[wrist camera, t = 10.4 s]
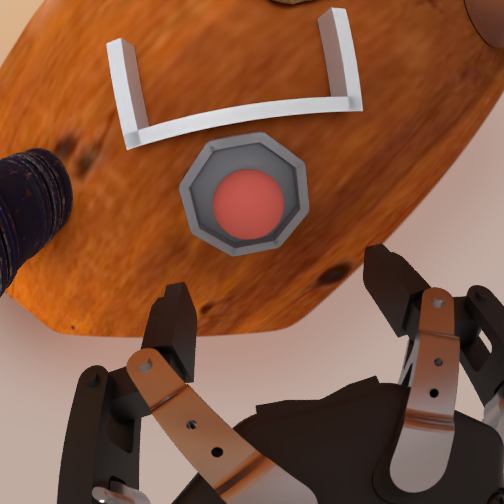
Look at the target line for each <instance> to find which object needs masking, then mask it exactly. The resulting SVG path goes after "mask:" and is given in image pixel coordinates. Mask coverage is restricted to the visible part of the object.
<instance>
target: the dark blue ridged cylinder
mask: <svg viewBox="0 0 504 504" xmlns="http://www.w3.org/2000/svg"><path fill="white" fill-rule="evenodd" d="M72 200H73V196H72V187H71V182H70V179H69V175H68V173H67V171H66V169H65V167H64V165H63V164H62V162H61V161H60V160H59V159H58V158H57V157H56V156H55V155H54V154H53V153H51V152H49V151H48V150H45V149H41V148H34V149H30V150H27V151H25V152H22V153H16V154H13V155H11V156H8V157H6V158H3V159H1V160H0V297H1V296H2V294H3V293H4V291H5V289H6V288H8V287H9V286H10V285H11V283H12V281H13V279H14V278H15V276H16V274H17V270H18V269H19V268H20V267H21V266H22V265H23V264H24V263H25V261H26V260H27V259H30V258H31V257H33V256H34V255H35V254H36V253H38V252H39V251H40V250H41V249H42V248H43V247H44V246H45V245H46V244H47V243H48V242H49V241H50V240H51V239H52V238H53V237H54V235H55V234H56V233H57V232H58V231H59V230H60V229H61V228H62V227H63V226H64V225H65V223H66V222H67V220H68V218H69V216H70V213H71V208H72Z"/></svg>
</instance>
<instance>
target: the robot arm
mask: <svg viewBox="0 0 504 504" xmlns="http://www.w3.org/2000/svg"><path fill="white" fill-rule="evenodd" d="M465 4H466V8H467V11H468V14H469V16H470V18H471V21H472V22H473V24H474V26H475V28H476V29H477V31H478V33H479V34H480V35H481V37H482V38H483V39H484V40H485V41H486V42H487V43H488V44H489V45H490V46H492V47H494V48H504V0H465ZM363 281H364V285H365V287H366V289H367V290H368V292H369V293H370V295H371V296H372V298H373V299H374V301H375V302H376V304H377V305H378V307H379V308H380V310H381V311H382V313H383V315H384V316H385V318H386V319H387V321H388V322H389V324H390V326H391V327H392V329H393V330H394V332H395V334H396V335H397V337H401V336H404V335H408V336H409V340H408V343H407V348H406V353H405V358H404V362H403V367H402V371H401V375H400V379H399V382H398V384H394V383H379V381H378V379H377V377H376V376H373V377H370V378H367V379H364V380H361V381H358V382H355V383H352V384H349V385H347V386H346V387H343V388H342V389H340V390H338V391H336V392H334V393H332V394H330V395H329V396H327V397H325V398H323V399H320V400H284V401H279V402H274V403H268V404H262V405H257V406H256V412H257V414H254V415H252V416H250V417H248V418H246V419H244V420H243V421H241V422H240V423H238V424H237V425H236V426H235V427H233V428H231V427H230V426H229V425H228V424H227V423H226V422H225V421H224V420H223V419H222V418H221V417H220V416H219V415H218V414H217V413H216V412H214V411H213V409H212V408H211V407H210V406H208V405H207V403H206V402H205V401H204V400H203V399H202V398H201V397H200V396H199V395H198V394H197V393H196V392H195V391H194V390H193V389H192V388H191V387H190V386H189V385H188V384H187V385H186V384H185V383H190V382H194V365H195V348H196V332H197V315H196V310H195V307H194V305H193V302H192V300H191V297H190V294H189V292H188V289H187V286H186V284H185V283H184V282H181V283H176V284H170V285H167V287H166V291H165V295H164V297H162V298H158V299H157V300H156V302H155V303H154V304H153V306H152V307H151V311H150V315H149V316H150V317H149V318H148V322H147V323H148V324H147V326H146V330H145V334H144V337H143V342H142V346H141V350H139V351H137V352H135V353H134V354H133V355H132V356H131V357H130V358H129V360H128V362H127V366H126V367H123V368H120V369H117V370H114V371H111V372H109V373H108V371H107V370H106V369H105V368H104V367H103V366H99V365H95V366H91V367H89V368H87V369H86V370H85V371H84V372H83V373H82V374H81V376H80V378H79V381H78V384H77V388H76V392H75V396H74V400H73V404H72V408H71V412H70V417H69V421H68V425H67V431H66V436H65V441H64V447H63V453H62V460H61V467H60V475H59V485H58V496H57V497H58V498H57V504H150V501H149V499H148V498H147V497H146V495H145V494H144V493H142V492H141V491H139V451H140V450H139V449H140V431H141V430H140V429H141V417H144V416H148V415H150V414H153V416H154V417H155V419H156V420H157V422H158V423H159V424H160V426H161V427H162V429H163V430H164V431H165V433H166V434H167V435H168V436H169V438H170V439H171V440H172V442H174V444H175V445H176V447H177V448H178V449H179V450H180V452H181V453H182V454H183V455H184V456H185V458H186V459H187V460H188V461H189V462H190V463H191V464H192V466H193V467H194V468H195V469H196V470H197V471H198V473H197V474H196V475H195V476H194V478H193V479H192V480H191V481H190V482H189V484H188V485H187V486H186V487H185V489H184V490H183V491H182V492H181V493H180V494H179V496H178V497H177V498H176V499H175V500H174V501H173V502H172V504H504V473H503V470H504V306H503V305H502V304H501V302H500V301H499V300H498V299H497V298H496V297H495V296H494V294H493V293H492V292H491V291H490V290H489V289H487V288H485V287H483V286H480V285H474V286H472V287H470V288H469V290H468V292H467V295H466V296H464V297H452V296H451V294H450V293H449V292H447V291H446V290H444V289H441V288H436V287H433V288H431V287H430V286H429V284H428V283H427V282H426V281H425V280H424V279H423V278H422V277H421V276H420V275H419V274H418V272H417V271H415V270H414V268H413V267H411V265H409V263H408V262H407V261H406V260H405V259H404V258H403V257H402V256H400V255H398V254H396V253H394V252H392V253H391V252H390V251H389V250H388V249H387V248H386V247H385V246H384V245H383V244H377V245H373V246H368V247H366V248H365V255H364V270H363ZM481 330H482V331H483V332H484V333H485V335H486V336H487V338H488V339H489V340H490V342H491V345H492V352H491V353H490V352H489V350H488V349H487V347H486V346H485V344H484V343H483V341H482V340H481V338H480V337H479V334H480V332H481ZM459 361H460V363H461V364H462V366H463V368H464V370H465V371H466V373H467V375H468V377H469V379H470V381H471V382H472V384H473V386H474V388H475V390H476V392H477V394H478V396H479V398H480V400H481V402H482V404H483V406H484V408H485V409H484V418H483V420H482V422H481V421H478V420H476V419H474V418H471V417H469V416H467V415H465V414H463V413H461V412H458V411H456V410H454V409H455V402H456V394H457V385H458V373H459Z"/></svg>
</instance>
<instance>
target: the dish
mask: <svg viewBox="0 0 504 504" xmlns="http://www.w3.org/2000/svg"><path fill="white" fill-rule="evenodd" d="M242 169H255V170H259V171H262V172H264V173H266V174H268V175H269V176H270V177H272V178H273V179H274V180H275V181H276V182H277V184H278V185H279V187H280V189H281V191H282V194H283V198H284V210H283V214H282V217H281V219H280V221H279V223H278V224H277V226H276V227H275V228H274V229H273V230H272V231H271V232H270V233H268V234H267V235H265V236H263V237H260V238H257V239H240V238H237V237H234V236H232V235H230V234H229V233H227V232H226V231H225V230H224V229H223V228H222V227H221V226H220V225H219V223H218V222H217V220H216V218H215V215H214V211H213V197H214V194H215V191H216V189H217V187H218V185H219V184H220V182H221V181H222V180H223V179H224V178H225V177H226V176H228V175H229V174H231V173H233V172H235V171H238V170H242ZM179 190H180V194H181V198H182V202H183V206H184V209H185V213H186V217H187V220H188V224H189V228H190V231H191V233H192V234H193V235H195V236H196V237H198V238H200V239H202V240H203V241H205V242H207V243H209V244H211V245H212V246H214V247H216V248H218V249H219V250H221V251H223V252H225V253H227V254H228V255H230V256H233V257H234V256H239V255H245V254H250V253H255V252H260V251H265V250H271V249H276V248H279V247H280V246H281V245H282V244H283V243H284V242H285V240H286V239H287V238H288V237H289V236H290V234H291V233H292V232H293V231H294V229H295V228H296V227H297V226H298V225H299V223H300V222H301V221H302V220H303V218H304V217H305V216H306V215H307V214H308V212H309V200H308V188H307V178H306V168H305V164H304V162H303V161H302V160H300V159H299V158H298V157H296V156H295V155H294V154H293V153H291V152H290V151H289V150H287V149H286V148H285V147H283V146H282V145H281V144H279V143H278V142H276V141H275V140H274V139H272V138H271V137H270V136H268V135H267V134H265V133H264V132H262V131H252V132H246V133H240V134H235V135H229V136H224V137H219V138H214V139H210V140H208V141H207V143H206V144H205V146H204V147H203V149H202V150H201V152H200V153H199V155H198V156H197V158H196V159H195V161H194V162H193V164H192V165H191V167H190V168H189V170H188V171H187V173H186V175H185V176H184V178H183V179H182V181H181V183H180V185H179ZM278 246H279V247H278Z"/></svg>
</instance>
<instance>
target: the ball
mask: <svg viewBox="0 0 504 504" xmlns="http://www.w3.org/2000/svg"><path fill="white" fill-rule="evenodd" d="M283 210H284V198H283V194H282V191H281V189H280V187H279V185H278V184H277V182H276V181H275V180H274V179H273V178H272V177H270V176H269V175H268V174H266V173H264V172H262V171H259V170H255V169H242V170H238V171H235V172H233V173H231V174H229V175H228V176H226V177H225V178H224V179H223V180H222V181H221V182H220V184H219V185H218V187H217V189H216V191H215V194H214V197H213V211H214V215H215V218H216V220H217V222H218V223H219V225H220V226H221V227H222V228H223V229H224V230H225V231H226V232H227V233H229V234H230V235H232V236H234V237H237V238H240V239H257V238H260V237H263V236H265V235H267V234H268V233H270V232H271V231H272V230H273V229H274V228H275V227H276V226H277V224H278V223H279V221H280V219H281V217H282V214H283Z"/></svg>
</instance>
